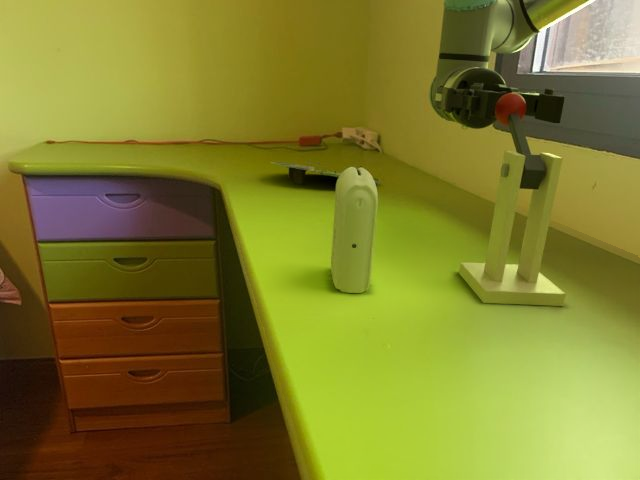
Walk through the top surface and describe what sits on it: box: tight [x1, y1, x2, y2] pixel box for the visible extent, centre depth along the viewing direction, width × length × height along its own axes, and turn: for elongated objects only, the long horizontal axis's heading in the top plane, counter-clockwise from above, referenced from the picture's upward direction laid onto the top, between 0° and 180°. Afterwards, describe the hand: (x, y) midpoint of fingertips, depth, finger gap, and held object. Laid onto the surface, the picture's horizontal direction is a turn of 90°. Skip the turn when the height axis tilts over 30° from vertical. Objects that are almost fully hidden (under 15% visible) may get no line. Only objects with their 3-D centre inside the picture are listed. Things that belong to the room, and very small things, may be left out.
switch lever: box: [495, 93, 546, 190], centre depth 78 cm, size 15×4×4 cm, turn 2°
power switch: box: [458, 150, 567, 307], centre depth 77 cm, size 12×9×15 cm
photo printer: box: [330, 166, 379, 294], centre depth 77 cm, size 10×4×12 cm, turn 2°
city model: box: [270, 160, 384, 185], centre depth 143 cm, size 25×23×6 cm
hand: (524, 107), depth 77 cm, fingers open, 7 cm apart
